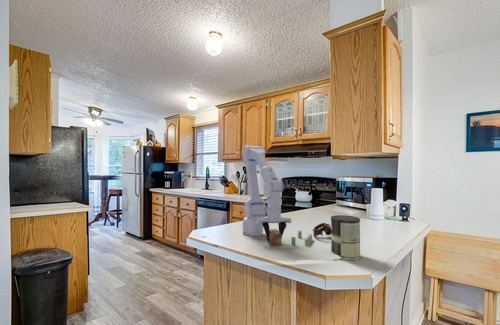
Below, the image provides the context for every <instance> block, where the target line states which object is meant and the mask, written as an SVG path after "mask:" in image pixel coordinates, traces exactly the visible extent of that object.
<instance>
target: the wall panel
mask: <svg viewBox="0 0 500 325" xmlns="http://www.w3.org/2000/svg"><path fill="white" fill-rule="evenodd" d="M302 235H303V232H302V230H298V231H297V236H292V235H291V236H290V235H284V234H283V235H282V239H281V246H275V247H276V248H277V247H278V248H285V249H292V250H301V251H307V249H308V248H309V246H310V245H311V244H312V242H313V241H314V238H313V235H312V233H309V234H308V235H307V236H306V237H302ZM261 245H264V246H270V244H269V243H268V241H267V240H266V241H264V242H263V243H261ZM270 247H271V246H270Z"/></svg>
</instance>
